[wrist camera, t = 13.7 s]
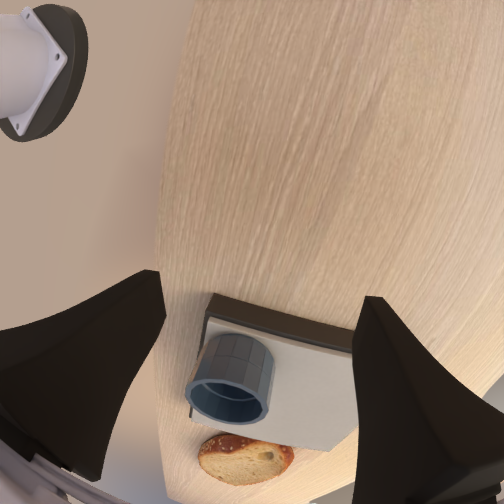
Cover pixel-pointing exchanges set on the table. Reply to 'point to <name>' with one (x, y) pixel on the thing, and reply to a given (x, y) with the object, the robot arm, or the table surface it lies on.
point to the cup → (232, 380)
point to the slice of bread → (243, 459)
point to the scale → (292, 375)
